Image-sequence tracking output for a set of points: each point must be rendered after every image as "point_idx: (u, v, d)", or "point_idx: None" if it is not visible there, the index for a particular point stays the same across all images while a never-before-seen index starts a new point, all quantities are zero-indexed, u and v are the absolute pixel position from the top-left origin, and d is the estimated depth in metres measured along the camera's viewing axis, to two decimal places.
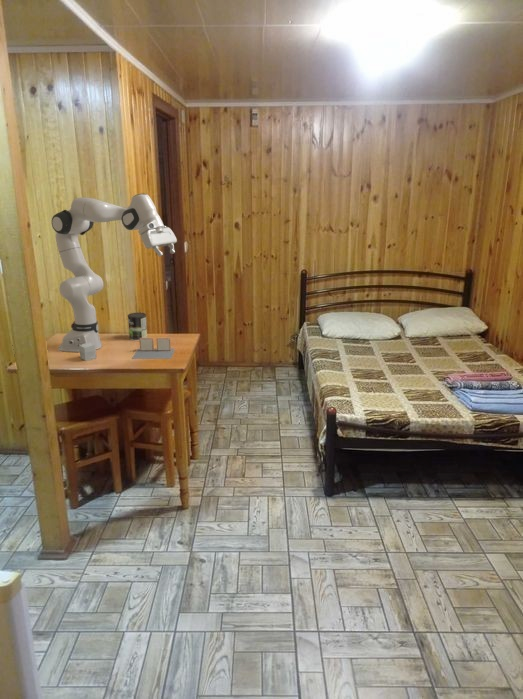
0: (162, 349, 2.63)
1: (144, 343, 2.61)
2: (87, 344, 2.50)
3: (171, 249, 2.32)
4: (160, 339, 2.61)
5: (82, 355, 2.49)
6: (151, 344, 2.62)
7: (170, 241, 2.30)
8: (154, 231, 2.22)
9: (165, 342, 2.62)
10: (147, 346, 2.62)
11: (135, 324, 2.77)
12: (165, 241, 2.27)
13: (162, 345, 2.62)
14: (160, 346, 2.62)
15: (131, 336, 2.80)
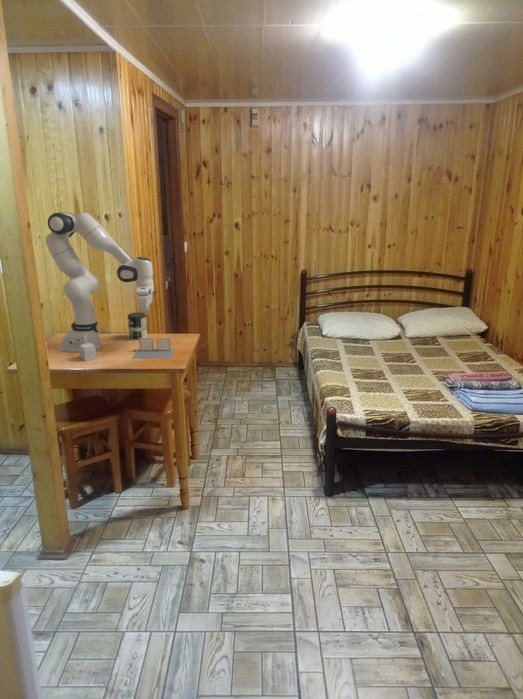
0: (162, 349, 2.63)
1: (144, 343, 2.61)
2: (87, 344, 2.50)
3: None
4: (160, 339, 2.61)
5: (82, 355, 2.49)
6: (151, 344, 2.62)
7: None
8: (148, 295, 2.55)
9: (165, 342, 2.62)
10: (147, 346, 2.62)
11: (135, 324, 2.77)
12: (149, 303, 2.62)
13: (162, 345, 2.62)
14: (160, 346, 2.62)
15: (131, 336, 2.80)
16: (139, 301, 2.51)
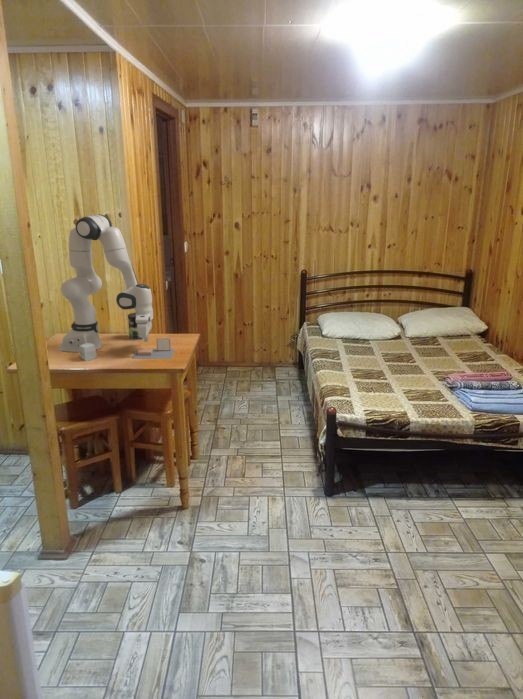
0: (162, 349, 2.63)
1: None
2: (87, 344, 2.50)
3: (146, 336, 2.61)
4: (160, 339, 2.61)
5: (82, 355, 2.49)
6: None
7: (150, 328, 2.63)
8: None
9: (165, 342, 2.62)
10: None
11: (135, 324, 2.77)
12: (149, 330, 2.60)
13: (162, 345, 2.62)
14: (160, 346, 2.62)
15: (131, 336, 2.80)
16: (138, 329, 2.49)
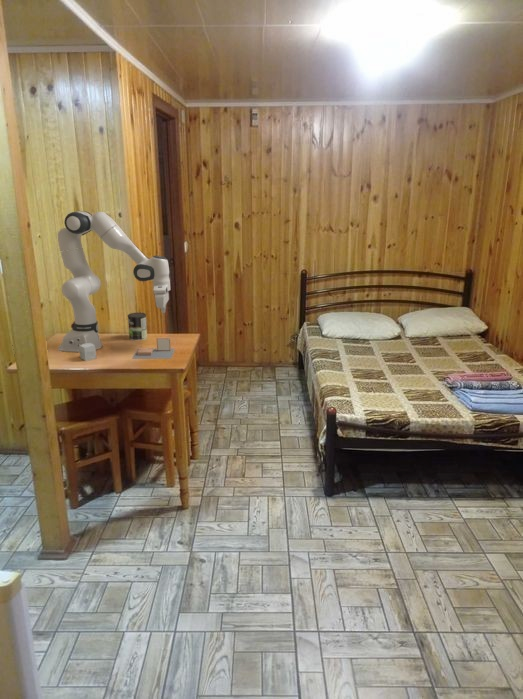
0: (162, 349, 2.63)
1: None
2: (87, 344, 2.50)
3: None
4: (160, 339, 2.61)
5: (82, 355, 2.49)
6: None
7: (167, 300, 2.65)
8: (165, 294, 2.55)
9: (165, 342, 2.62)
10: None
11: (135, 324, 2.77)
12: (166, 301, 2.62)
13: (162, 345, 2.62)
14: (160, 346, 2.62)
15: (131, 336, 2.80)
16: (156, 300, 2.51)
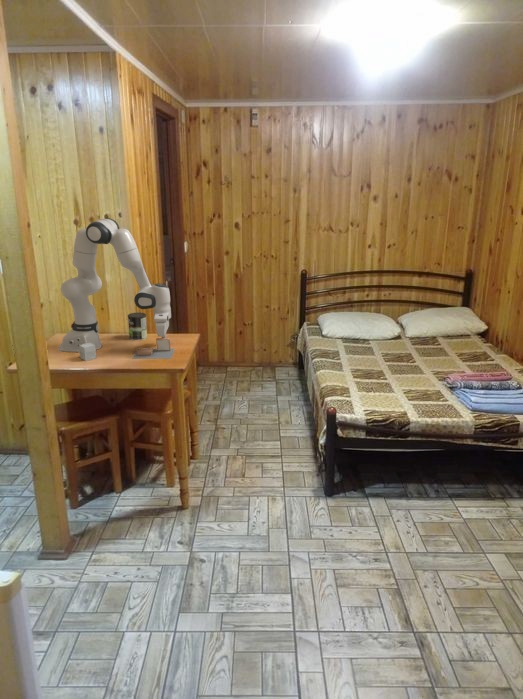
0: (162, 349, 2.63)
1: None
2: (87, 344, 2.50)
3: None
4: (159, 340, 2.60)
5: (82, 355, 2.49)
6: None
7: (167, 327, 2.66)
8: None
9: (165, 343, 2.61)
10: None
11: (135, 324, 2.77)
12: (166, 329, 2.62)
13: (162, 346, 2.61)
14: (160, 346, 2.62)
15: (131, 336, 2.80)
16: (157, 328, 2.51)
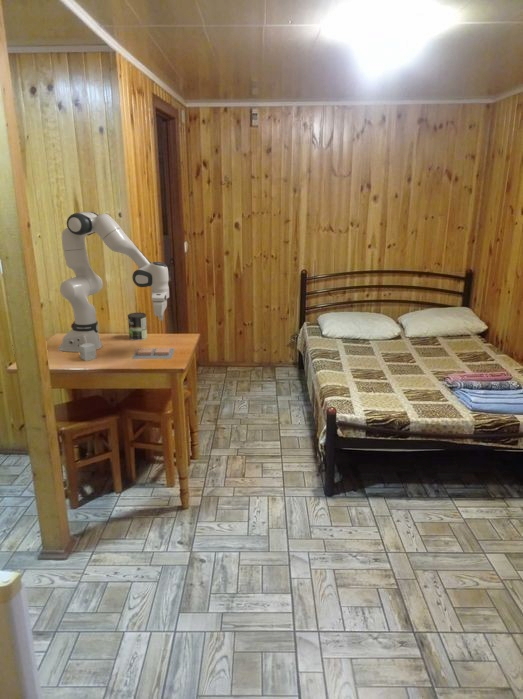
0: None
1: None
2: (87, 344, 2.50)
3: None
4: (159, 354, 2.57)
5: (82, 355, 2.49)
6: None
7: (165, 308, 2.59)
8: (164, 302, 2.49)
9: None
10: None
11: (135, 324, 2.77)
12: (164, 309, 2.56)
13: None
14: None
15: (131, 336, 2.80)
16: (154, 307, 2.45)
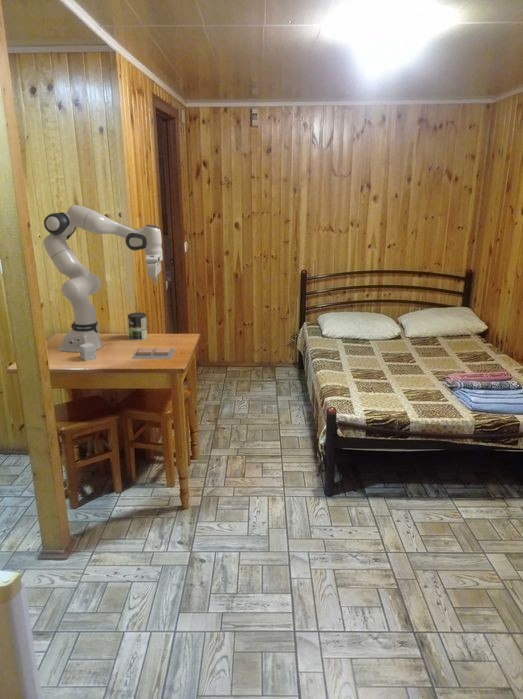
0: None
1: None
2: (87, 344, 2.50)
3: None
4: (159, 354, 2.57)
5: (82, 355, 2.49)
6: None
7: (159, 271, 2.63)
8: (157, 264, 2.53)
9: None
10: None
11: (135, 324, 2.77)
12: (158, 272, 2.60)
13: None
14: None
15: (131, 336, 2.80)
16: (148, 269, 2.49)
